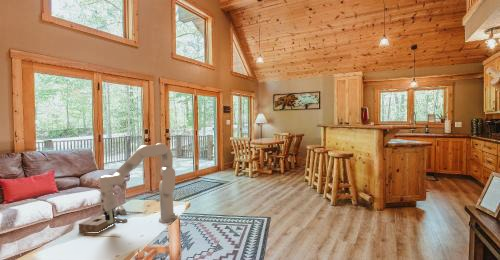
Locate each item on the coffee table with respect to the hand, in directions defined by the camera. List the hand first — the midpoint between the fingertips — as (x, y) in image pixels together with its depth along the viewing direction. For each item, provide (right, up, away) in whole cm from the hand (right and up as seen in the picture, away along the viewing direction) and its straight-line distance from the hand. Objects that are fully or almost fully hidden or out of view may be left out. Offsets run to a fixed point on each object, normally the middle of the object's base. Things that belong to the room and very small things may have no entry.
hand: (110, 218), depth 180 cm
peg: (0, -3, 0) cm, 3 cm away
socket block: (-13, -10, +7) cm, 18 cm away
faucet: (-3, -9, +30) cm, 32 cm away
